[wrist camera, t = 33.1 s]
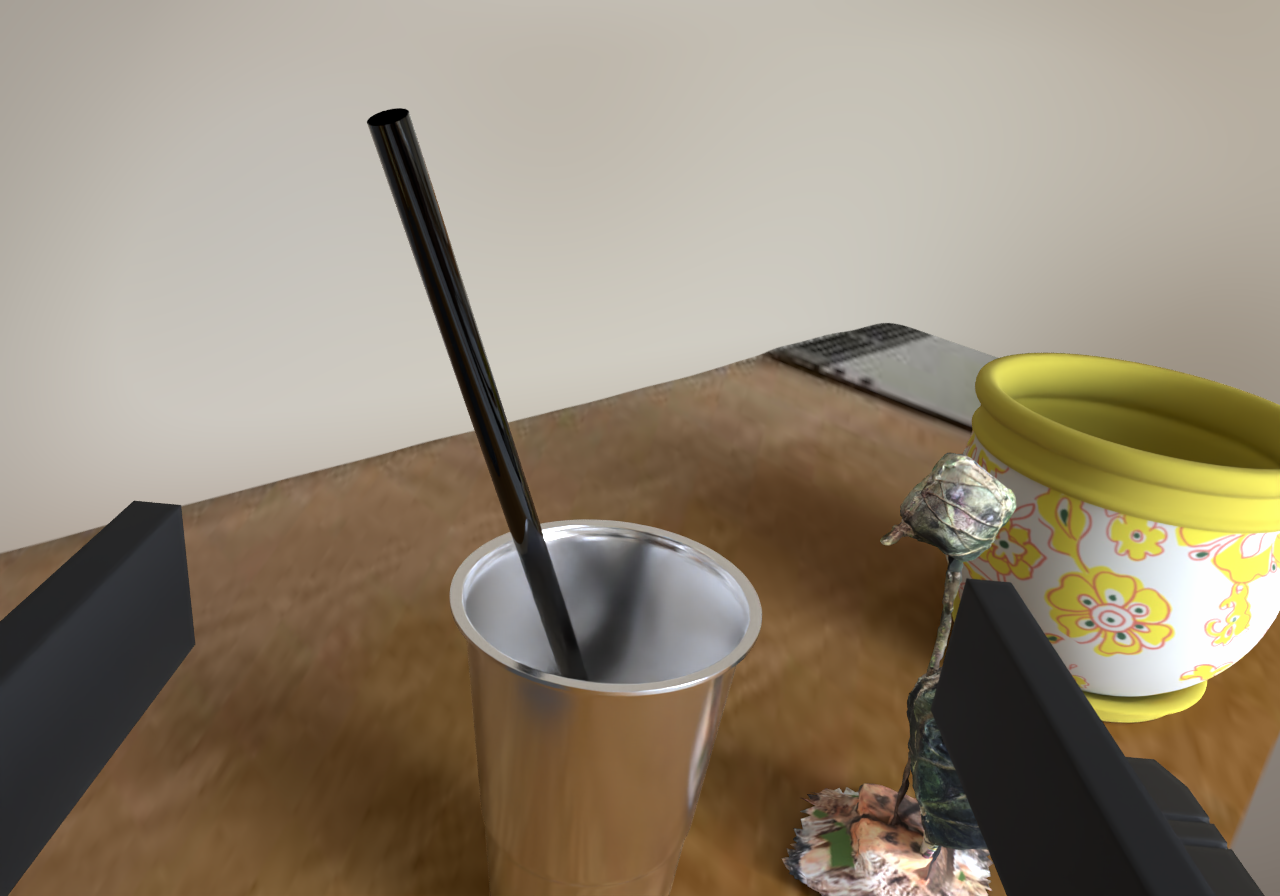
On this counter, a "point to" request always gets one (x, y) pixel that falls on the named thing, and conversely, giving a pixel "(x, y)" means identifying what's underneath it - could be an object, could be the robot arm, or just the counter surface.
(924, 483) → the decorative sculpture
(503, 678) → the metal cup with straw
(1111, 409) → the flowerpot
